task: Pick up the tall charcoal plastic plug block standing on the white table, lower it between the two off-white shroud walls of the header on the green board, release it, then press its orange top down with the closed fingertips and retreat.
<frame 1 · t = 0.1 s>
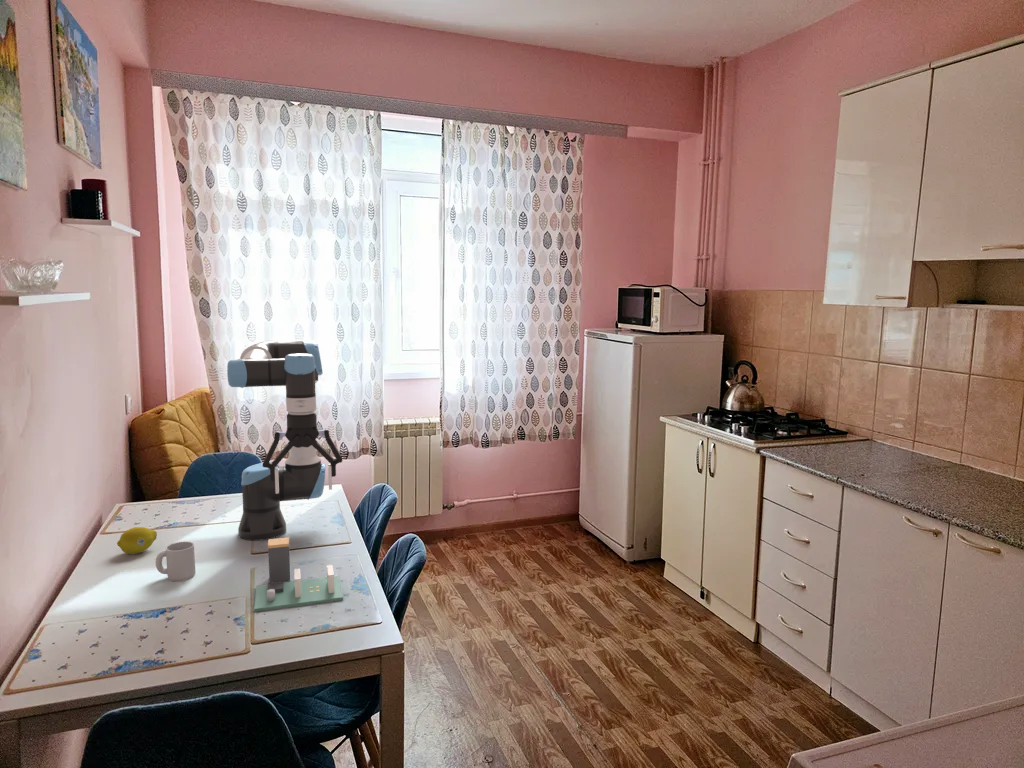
hand: (304, 490, 178), 28 cm above the table, fingers open, 13 cm apart
board: (299, 594, 178), on the table
lemon: (138, 553, 205), on the table
plug: (280, 578, 188), on the table
cup: (176, 577, 188), on the table
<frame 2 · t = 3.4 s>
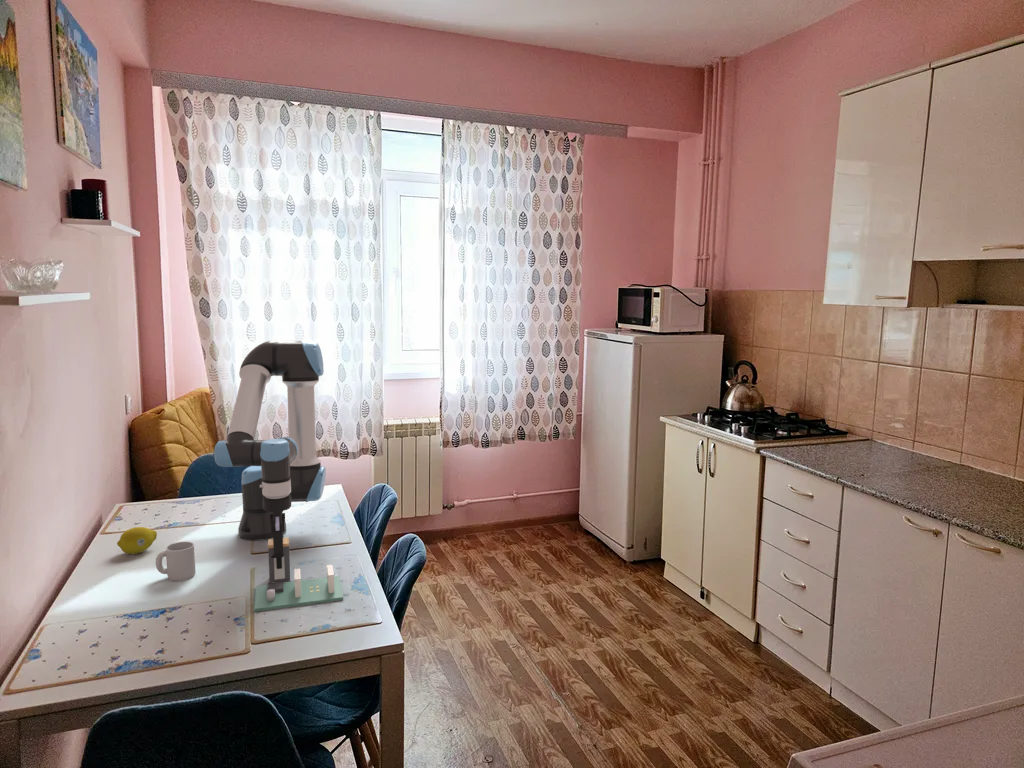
hand: (279, 574, 187), 1 cm above the table, fingers closed on plug, 5 cm apart
plug: (280, 578, 188), on the table, touching gripper
everything else where it was.
when the fingers open (5 cm above the table, at t = 7.6 s): plug drops 2 cm, resting on board.
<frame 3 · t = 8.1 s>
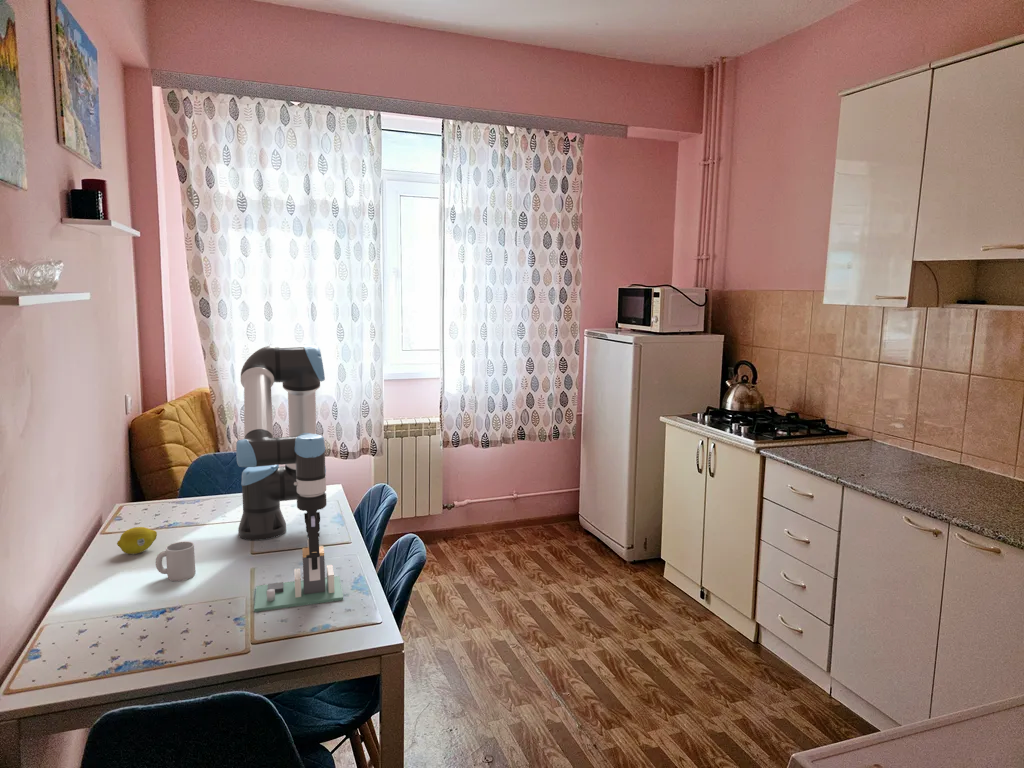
hand: (314, 570, 178), 6 cm above the table, fingers open, 12 cm apart
plug: (314, 589, 179), point 1 cm above the table, touching board
everything else where it was.
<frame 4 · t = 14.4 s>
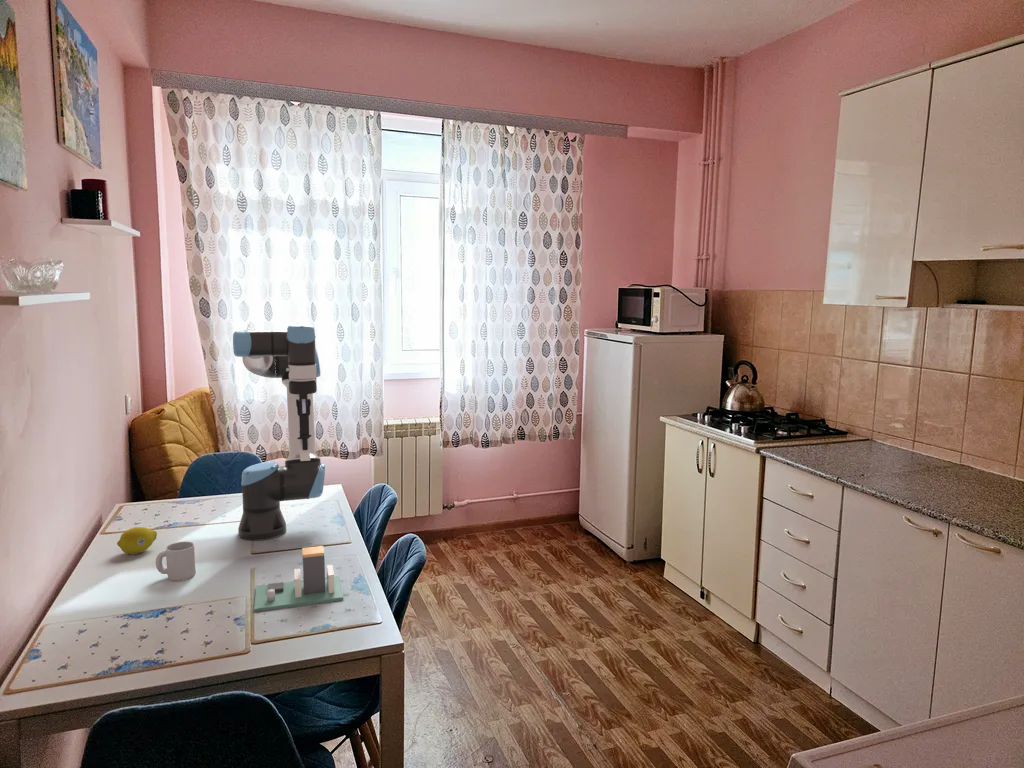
hand: (305, 460, 191), 32 cm above the table, fingers closed
nothing on the table moved.
at the end: plug 0.0 cm from the target spot on the board, point 0.9 cm above the board's base; plug tilted 0°; the gripper is holding nothing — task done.
